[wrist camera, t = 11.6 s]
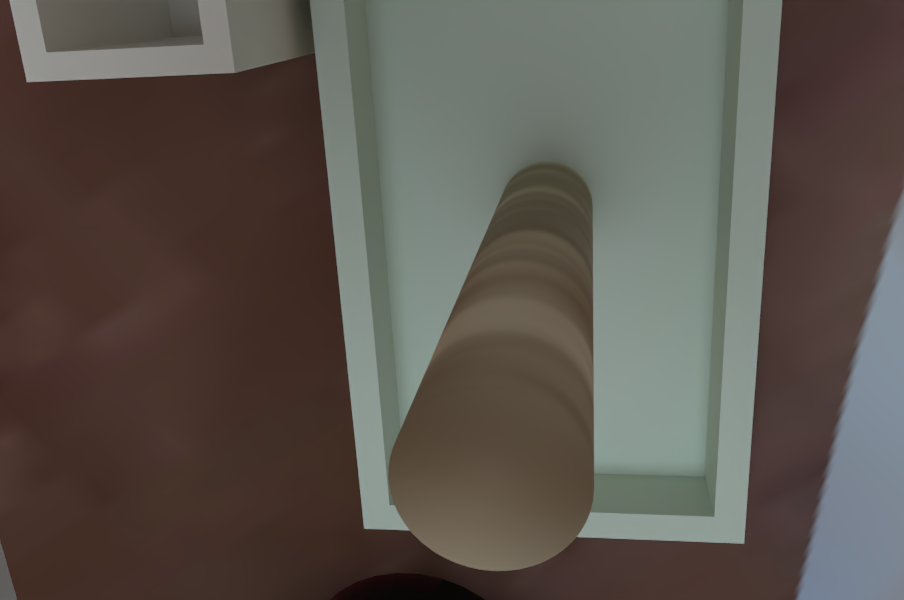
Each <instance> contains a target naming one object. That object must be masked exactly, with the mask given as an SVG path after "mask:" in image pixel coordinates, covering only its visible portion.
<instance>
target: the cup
mask: <svg viewBox="0 0 904 600" xmlns="http://www.w3.org/2000/svg"><path fill="white" fill-rule="evenodd" d="M10 5H11V10H12V14H13V19H14V24H15V28H16V33H17V38H18V42H19V47H20V52H21V56H22V61H23V66H24V71H25V75H26V80H27V82H41V81H64V80H86V79H108V78H131V77H153V76H175V75H198V74H220V73H236V72H240V71H244V70H249V69H253V68H257V67H261V66H265V65H269V64H273V63H277V62H281V61H285V60H289V59H293V58H297V57H301V56H305V55H309V54H314V53H315V46H314V37H313V27H312V17H311V7H310V0H10Z"/></svg>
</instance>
